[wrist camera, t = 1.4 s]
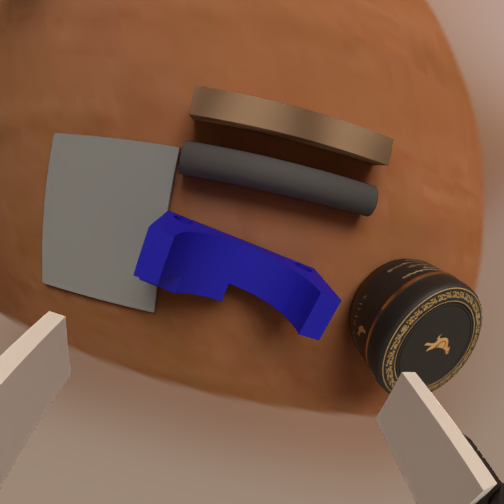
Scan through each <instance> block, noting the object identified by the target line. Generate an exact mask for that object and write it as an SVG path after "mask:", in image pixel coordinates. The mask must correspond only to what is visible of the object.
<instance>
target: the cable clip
mask: <svg viewBox="0 0 504 504" xmlns="http://www.w3.org/2000/svg"><path fill="white" fill-rule="evenodd" d="M134 276H136V277H139V280H142V281H144V282H147V283H149V284H152V285H154V286H157V287H159V288H162V289H165V290H167V291H170V292H172V293H175V294H176V293H185V294H195V295H201V296H205V297H209V298H213V299H216V300H219V301H222V298H223V296H224V294H225V291H226V289H227V287H228V285H229V284H231V285H234V286H236V287H239V288H241V289H243V290H245V291H247V292H249V293H251V294H253V295H255V296H257V297H259V298H260V299H262V300H264V301H265V302H267V303H268V304H270V305H271V306H273V307H274V308H276V309H277V310H278V311H279V312H281V313H282V314H283V315H284V316H285V317H286V318H287V319H288V320H289V321H290V322H291V323H292V324H293V326H294V327H295V329H296V330H297V332H298V334H300V335H303V336H306V337H310V338H313V339H316V340H319V339H320V337H321V336H322V334H323V332H324V331H325V329H326V327H327V325H328V323H329V322H330V320H331V318H332V316H333V315H334V313H335V311H336V309H337V307H338V305H339V304H340V302H341V299H340V298H339V297H338V296H337V295H336V293H335V292H334V291H333V290H332V289H331V288H330V286H329V285H328V284H327V283H326V282H325V281H324V280H323V278H322V277H321V276H320V275H319V274H318V273H317V271H316V270H315V269H313V268H311V267H309V266H306V265H304V264H301V263H299V262H296V261H294V260H291V259H289V258H286V257H284V256H281V255H279V254H276V253H274V252H271V251H269V250H266V249H264V248H261V247H259V246H256V245H254V244H251V243H249V242H246V241H244V240H241V239H239V238H236V237H233V236H231V235H228V234H226V233H223V232H221V231H218V230H216V229H213V228H211V227H208V226H206V225H203V224H201V223H198V222H196V221H193V220H190V219H188V218H185V217H183V216H180V215H178V214H175V213H173V212H170V211H167V212H166V213H164V214H163V215H162V216H161V217H160V218H158V219H157V220H156V221H155V222H154V223H152V224H151V225H150V226H149V228H148V231H147V234H146V237H145V240H144V243H143V246H142V249H141V252H140V255H139V258H138V262H137V265H136V268H135V271H134Z"/></svg>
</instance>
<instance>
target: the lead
mask: <svg viewBox="0 0 504 504" xmlns="http://www.w3.org/2000/svg"><path fill="white" fill-rule="evenodd" d="M179 174H183V175H189V176H194V177H200V178H205V179H210V180H215V181H220V182H225V183H230V184H235V185H240V186H245V187H249V188H254V189H259V190H263V191H268V192H272V193H277V194H281V195H285V196H289V197H294V198H298V199H302V200H306V201H310V202H314V203H318V204H322V205H326V206H330V207H334V208H338V209H342V210H345V211H349V212H353V213H356V214H360V215H364V216H370V215H371V214H372V213H373V212H374V210H375V208H376V205H377V201H378V190H377V188H376V187H375V186H373V185H370V184H367V183H363V182H360V181H357V180H354V179H350V178H347V177H344V176H340V175H337V174H333V173H330V172H326V171H323V170H319V169H315V168H312V167H308V166H304V165H300V164H296V163H292V162H288V161H284V160H280V159H276V158H272V157H267V156H263V155H259V154H254V153H250V152H245V151H240V150H235V149H230V148H225V147H220V146H215V145H210V144H204V143H198V142H193V141H186V142H185V143H184V146H183V149H182V152H181V156H180V162H179Z"/></svg>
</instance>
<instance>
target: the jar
mask: <svg viewBox="0 0 504 504" xmlns="http://www.w3.org/2000/svg"><path fill="white" fill-rule="evenodd" d="M481 325H482V309H481V304H480V301H479V299H478V297H477V295H476V294H475V292H474V291H473V290H472V289H471V288H470V287H469V286H467V285H466V284H465V283H463V282H462V281H461V280H460V279H459V278H457V277H456V276H454V275H452V274H450V273H446V272H443V271H442V270H440V269H438V268H436V267H435V266H433V265H431V264H429V263H427V262H424V261H421V260H415V259H398V260H393V261H390V262H388V263H386V264H384V265H382V266H380V267H379V268H377V269H376V270H375V271H373V272H372V273H371V274H370V275H369V276H368V277H367V278H366V279H365V280H364V282H363V283H362V284H361V286H360V287H359V289H358V290H357V292H356V294H355V297H354V299H353V302H352V305H351V310H350V327H351V333H352V337H353V340H354V343H355V345H356V347H357V349H358V350H359V352H360V353H361V355H362V357H363V358H364V360H365V361H366V363H367V365H368V368H369V370H370V371H371V373H372V375H373V376H374V377H375V378H376V380H377V381H378V383H379V384H380V385H381V387H382V388H383V389H384V390H385V391H386V392H388V393H389V394H390V393H391V391H392V389H393V388H394V386H395V384H396V382H397V380H398V378H399V376H400V374H401V372H416V374H417V375H418V376H419V377H420V379H421V380H422V381H423V383H424V384H425V385H426V386H427V388H428V389H429V390H430V391H431V392H432V391H434V390H436V389H438V388H439V387H441V386H442V385H444V384H445V383H446V382H448V381H449V380H450V379H451V378H452V377H453V376H454V375H455V374H456V373H457V372H458V371H459V370H460V369H461V368H462V367H463V365H464V364H465V362H466V361H467V360H468V358H469V356H470V355H471V353H472V351H473V349H474V347H475V345H476V343H477V340H478V337H479V334H480V330H481Z"/></svg>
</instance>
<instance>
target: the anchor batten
mask: <svg viewBox="0 0 504 504" xmlns="http://www.w3.org/2000/svg"><path fill="white" fill-rule="evenodd" d="M189 115H190V116H191V117H192V118H193V119H194V120H197V121H203V122H208V123H214V124H219V125H225V126H230V127H235V128H240V129H245V130H249V131H254V132H258V133H263V134H267V135H271V136H276V137H280V138H284V139H288V140H292V141H295V142H299V143H303V144H307V145H310V146H314V147H318V148H321V149H324V150H328V151H331V152H335V153H338V154H341V155H344V156H348V157H351V158H354V159H357V160H360V161H363V162H366V163H369V164H372V165H388V164H389V159H390V155H391V150H392V144H393V139H392V138H389V137H387V136H384V135H382V134H379V133H376V132H374V131H371V130H368V129H365V128H363V127H360V126H357V125H354V124H351V123H348V122H345V121H342V120H339V119H336V118H333V117H330V116H327V115H323V114H320V113H317V112H313V111H310V110H306V109H303V108H299V107H296V106H292V105H288V104H284V103H280V102H276V101H272V100H268V99H263V98H259V97H254V96H250V95H245V94H240V93H235V92H229V91H224V90H218V89H212V88H206V87H199V86H196V89H195V92H194V96H193V100H192V104H191V108H190V112H189Z"/></svg>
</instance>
